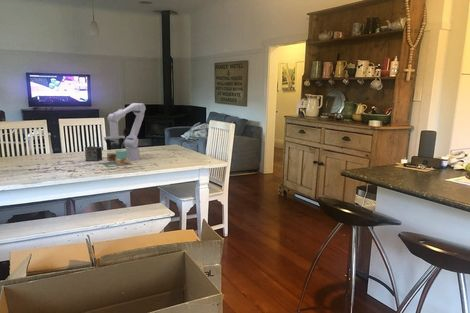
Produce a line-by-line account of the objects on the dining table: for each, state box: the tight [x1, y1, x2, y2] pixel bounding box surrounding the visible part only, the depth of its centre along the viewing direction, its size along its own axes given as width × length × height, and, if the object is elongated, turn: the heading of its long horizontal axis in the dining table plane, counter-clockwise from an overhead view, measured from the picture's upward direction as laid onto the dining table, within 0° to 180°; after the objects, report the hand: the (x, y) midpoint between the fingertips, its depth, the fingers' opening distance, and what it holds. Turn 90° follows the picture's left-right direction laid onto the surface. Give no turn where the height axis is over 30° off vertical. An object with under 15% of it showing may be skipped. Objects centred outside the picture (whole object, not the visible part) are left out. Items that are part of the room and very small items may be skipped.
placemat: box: [102, 161, 134, 168], centre depth 253 cm, size 18×14×1 cm
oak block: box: [114, 158, 130, 166], centre depth 254 cm, size 7×7×4 cm
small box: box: [84, 145, 103, 162], centre depth 265 cm, size 11×6×10 cm, turn 74°
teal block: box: [115, 149, 127, 159], centre depth 253 cm, size 6×6×6 cm
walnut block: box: [106, 152, 116, 162], centre depth 265 cm, size 6×6×6 cm
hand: (115, 149), depth 257 cm, fingers open, 7 cm apart
